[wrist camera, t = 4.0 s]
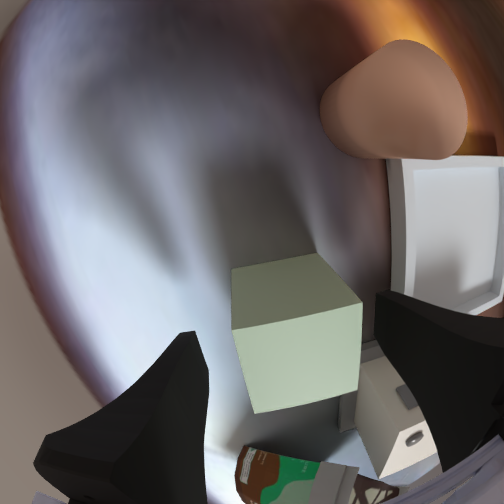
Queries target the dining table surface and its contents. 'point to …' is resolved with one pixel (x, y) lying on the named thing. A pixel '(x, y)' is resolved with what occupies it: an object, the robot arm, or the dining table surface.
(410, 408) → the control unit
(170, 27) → the dining table surface
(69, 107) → the dining table surface
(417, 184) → the tray
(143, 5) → the dining table surface
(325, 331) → the green part
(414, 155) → the terracotta part
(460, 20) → the dining table surface
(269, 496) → the food container
